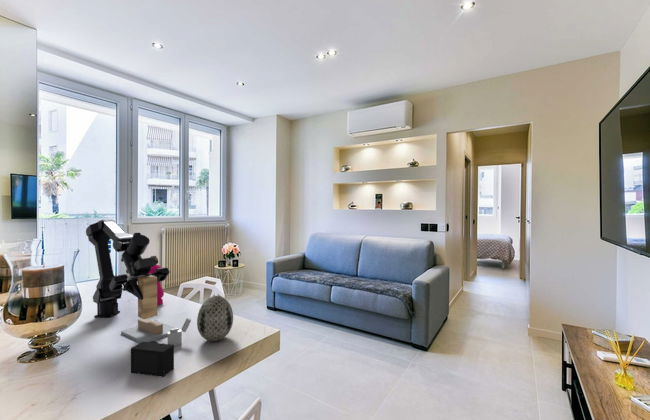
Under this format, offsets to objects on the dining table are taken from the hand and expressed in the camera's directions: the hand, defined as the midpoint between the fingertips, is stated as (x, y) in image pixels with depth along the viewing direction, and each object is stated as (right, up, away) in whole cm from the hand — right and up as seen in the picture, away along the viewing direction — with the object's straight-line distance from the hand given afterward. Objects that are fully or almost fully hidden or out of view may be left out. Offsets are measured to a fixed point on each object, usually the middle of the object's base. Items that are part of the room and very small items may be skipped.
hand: (149, 297), depth 106 cm
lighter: (+14, -14, -7) cm, 21 cm away
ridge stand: (-1, -13, +2) cm, 13 cm away
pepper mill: (-17, -13, +33) cm, 39 cm away
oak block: (-1, -7, +1) cm, 7 cm away
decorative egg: (+25, -14, -4) cm, 29 cm away
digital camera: (+15, -14, -22) cm, 30 cm away
